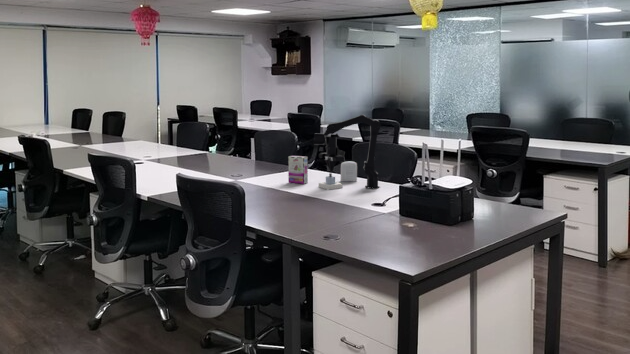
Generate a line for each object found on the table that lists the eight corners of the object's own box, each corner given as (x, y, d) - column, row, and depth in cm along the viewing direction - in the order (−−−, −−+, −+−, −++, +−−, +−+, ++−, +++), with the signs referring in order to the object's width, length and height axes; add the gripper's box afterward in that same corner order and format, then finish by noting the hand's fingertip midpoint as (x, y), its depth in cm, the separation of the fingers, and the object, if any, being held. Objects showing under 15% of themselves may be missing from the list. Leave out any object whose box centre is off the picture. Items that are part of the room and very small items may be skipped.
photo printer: (356, 180, 367) (356, 160, 365) (357, 181, 363) (357, 161, 361) (339, 180, 366) (340, 161, 363) (341, 181, 361) (341, 162, 359)
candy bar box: (308, 183, 357) (308, 156, 354) (304, 184, 353) (304, 157, 350) (292, 181, 362) (292, 155, 359) (288, 182, 358) (287, 156, 355)
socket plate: (342, 187, 342) (342, 182, 342) (327, 189, 337) (328, 184, 337) (332, 185, 351) (332, 180, 350) (318, 186, 346) (318, 181, 345)
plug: (335, 187, 343) (335, 173, 342) (329, 187, 341) (329, 174, 340) (331, 186, 347) (331, 172, 345) (325, 186, 345) (325, 173, 343)
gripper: (352, 145, 338) (352, 172, 340) (333, 142, 353) (333, 168, 356) (336, 147, 332) (336, 174, 334) (318, 143, 347) (318, 169, 350)
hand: (331, 171), depth 344 cm, fingers closed
